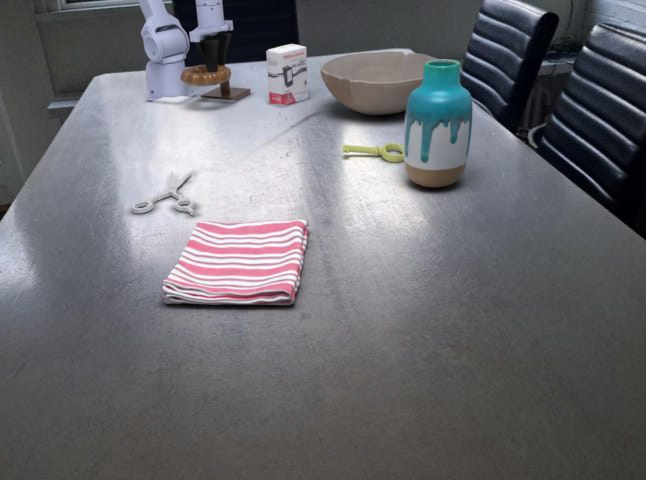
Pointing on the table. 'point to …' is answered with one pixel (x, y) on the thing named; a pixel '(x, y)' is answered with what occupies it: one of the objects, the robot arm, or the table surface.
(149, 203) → the scissors
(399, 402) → the table surface
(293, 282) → the dish towel
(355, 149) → the key
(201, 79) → the brown beaded ring
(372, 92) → the bowl
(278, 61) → the ink box
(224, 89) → the brown peg stand
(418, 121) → the vase
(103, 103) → the table surface
